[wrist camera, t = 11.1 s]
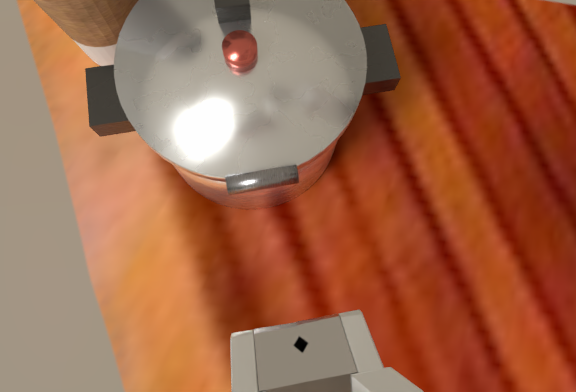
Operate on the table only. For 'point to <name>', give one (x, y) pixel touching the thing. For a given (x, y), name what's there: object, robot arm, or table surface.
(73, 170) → the table surface
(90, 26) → the coffee cup
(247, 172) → the lid
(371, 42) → the cooker pot
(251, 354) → the robot arm
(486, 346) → the table surface
